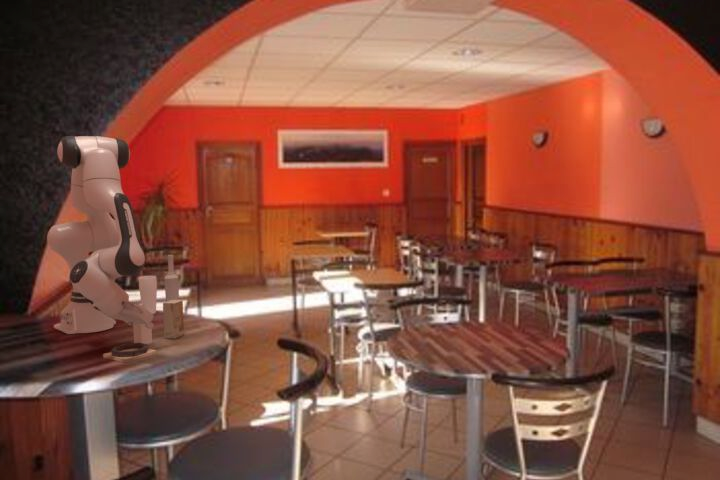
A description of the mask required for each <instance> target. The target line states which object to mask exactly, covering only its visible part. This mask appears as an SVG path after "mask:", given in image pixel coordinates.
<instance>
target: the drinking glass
mask: <svg viewBox="0 0 720 480" xmlns="http://www.w3.org/2000/svg"><path fill="white" fill-rule="evenodd" d="M157 281H158V280H157V275H144V276H143V275H142V276H139V277H138V288H139V289H138V290H139V296H140V303H141V304H140V305H142V306H143V307H145V308H146V309H147V310H149V311H150V312H151V313H152V314H153V315H155V314H156V313H157V294H158V292H157V291H158V282H157Z"/></svg>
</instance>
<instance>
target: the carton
mask: <svg viewBox="0 0 720 480" xmlns="http://www.w3.org/2000/svg"><path fill="white" fill-rule="evenodd" d="M132 328H133V331H132V332H133V343H143V344H148V345H149V344H152V343H153V331H152V329H153V328H152V329H148V328H147V327H145V324H140V323H135V322H133V325H132Z"/></svg>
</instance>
